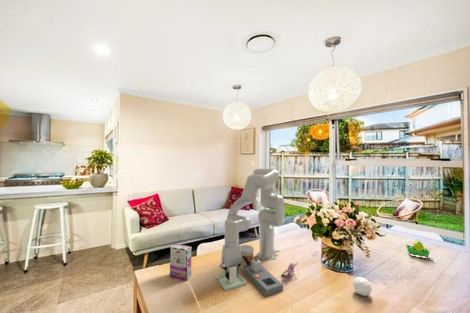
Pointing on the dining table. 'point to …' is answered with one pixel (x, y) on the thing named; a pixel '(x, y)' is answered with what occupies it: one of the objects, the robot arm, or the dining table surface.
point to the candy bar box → (180, 261)
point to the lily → (290, 269)
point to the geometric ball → (362, 286)
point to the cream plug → (232, 274)
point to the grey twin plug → (256, 265)
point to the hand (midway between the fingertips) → (231, 277)
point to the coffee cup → (246, 256)
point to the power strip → (264, 281)
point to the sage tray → (227, 285)
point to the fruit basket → (418, 249)
